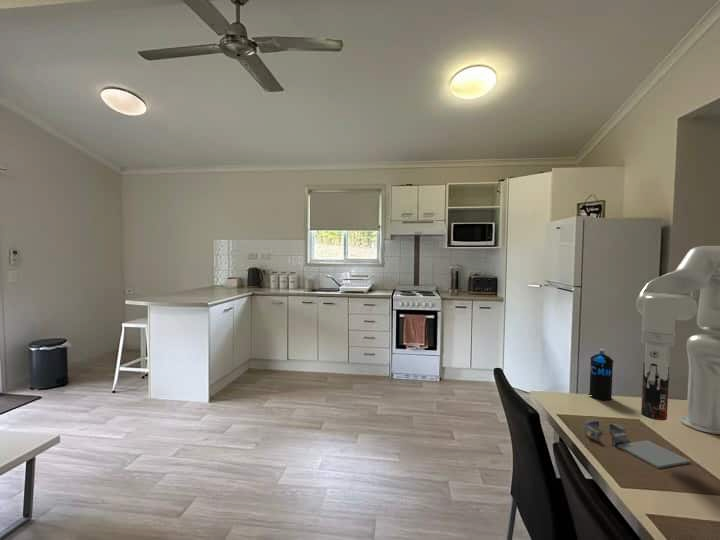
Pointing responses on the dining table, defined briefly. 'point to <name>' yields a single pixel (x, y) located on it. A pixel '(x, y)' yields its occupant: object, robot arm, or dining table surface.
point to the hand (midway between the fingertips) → (654, 398)
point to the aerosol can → (601, 376)
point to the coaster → (653, 454)
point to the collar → (616, 431)
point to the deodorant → (655, 409)
